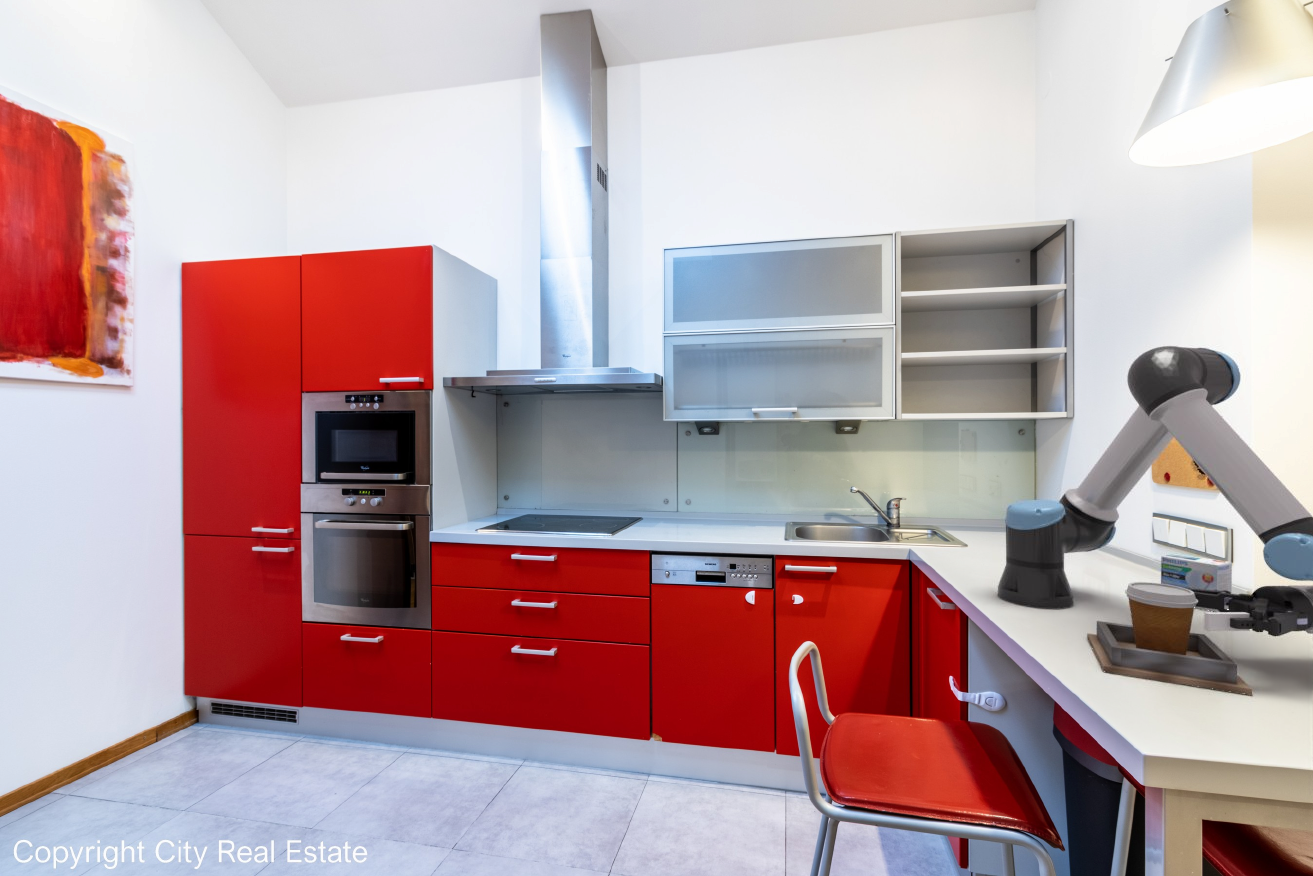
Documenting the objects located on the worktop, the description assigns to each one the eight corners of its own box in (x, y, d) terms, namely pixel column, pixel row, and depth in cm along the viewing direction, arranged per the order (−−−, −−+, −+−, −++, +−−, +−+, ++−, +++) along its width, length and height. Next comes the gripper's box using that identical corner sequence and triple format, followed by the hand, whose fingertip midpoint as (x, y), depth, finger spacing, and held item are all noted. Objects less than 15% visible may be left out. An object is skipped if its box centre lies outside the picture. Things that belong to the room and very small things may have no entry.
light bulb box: (1159, 600, 137) (1159, 555, 137) (1174, 597, 140) (1174, 552, 140) (1218, 613, 127) (1218, 564, 127) (1233, 609, 130) (1233, 561, 130)
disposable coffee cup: (1126, 660, 99) (1126, 590, 99) (1123, 643, 106) (1123, 578, 106) (1202, 673, 93) (1202, 599, 93) (1193, 655, 101) (1193, 586, 101)
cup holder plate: (1103, 671, 96) (1103, 648, 96) (1087, 638, 112) (1087, 617, 112) (1252, 695, 87) (1252, 669, 87) (1211, 655, 103) (1211, 633, 103)
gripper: (1384, 658, 87) (1242, 658, 87) (1222, 608, 112) (1112, 608, 112) (1384, 608, 87) (1242, 608, 87) (1222, 569, 111) (1112, 569, 112)
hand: (1168, 608), depth 99 cm, fingers open, 13 cm apart
